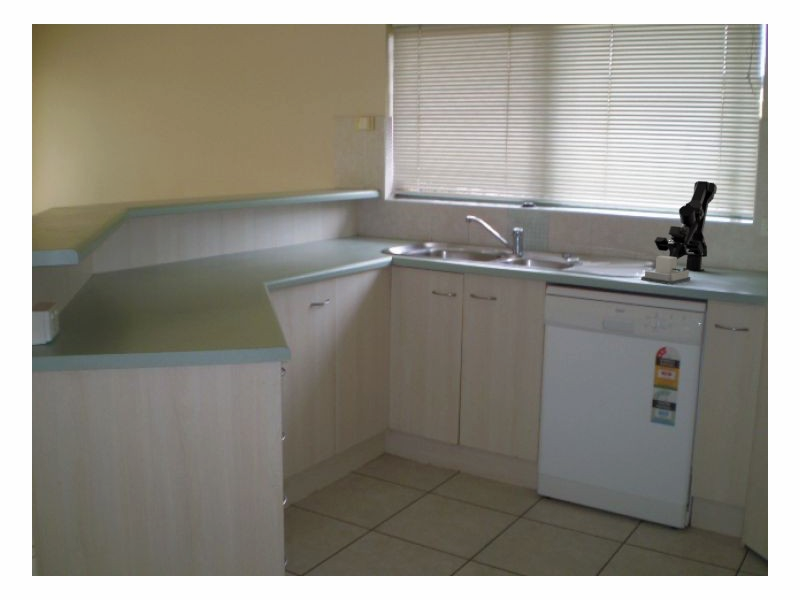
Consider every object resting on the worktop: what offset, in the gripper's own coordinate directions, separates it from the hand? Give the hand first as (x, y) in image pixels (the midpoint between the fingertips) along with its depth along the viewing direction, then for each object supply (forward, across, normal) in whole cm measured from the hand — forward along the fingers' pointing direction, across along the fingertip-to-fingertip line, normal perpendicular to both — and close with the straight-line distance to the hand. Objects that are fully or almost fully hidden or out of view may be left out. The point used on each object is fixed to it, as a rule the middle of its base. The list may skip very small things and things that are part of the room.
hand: (670, 262), depth 349 cm
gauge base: (+6, 0, +3) cm, 7 cm away
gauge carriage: (+6, +1, +2) cm, 6 cm away
